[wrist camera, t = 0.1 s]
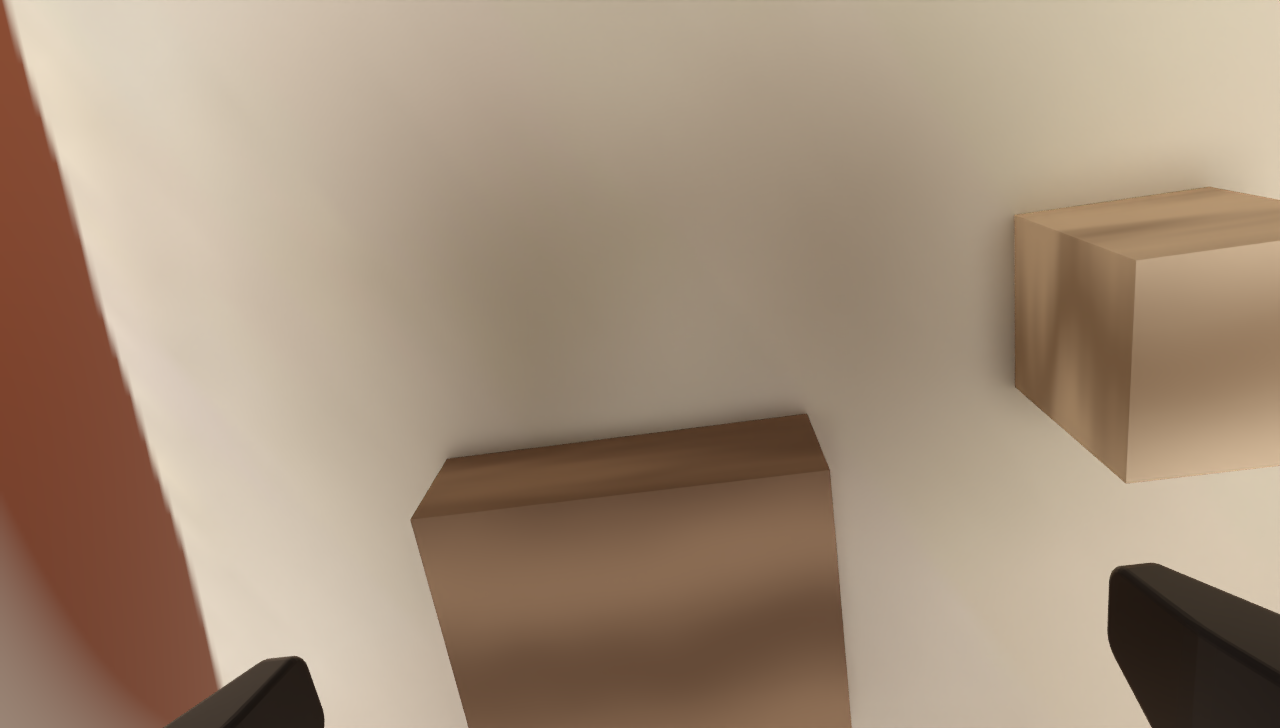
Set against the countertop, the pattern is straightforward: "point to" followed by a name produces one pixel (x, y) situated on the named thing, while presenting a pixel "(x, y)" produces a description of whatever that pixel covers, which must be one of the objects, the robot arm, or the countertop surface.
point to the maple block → (1155, 329)
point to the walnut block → (642, 581)
